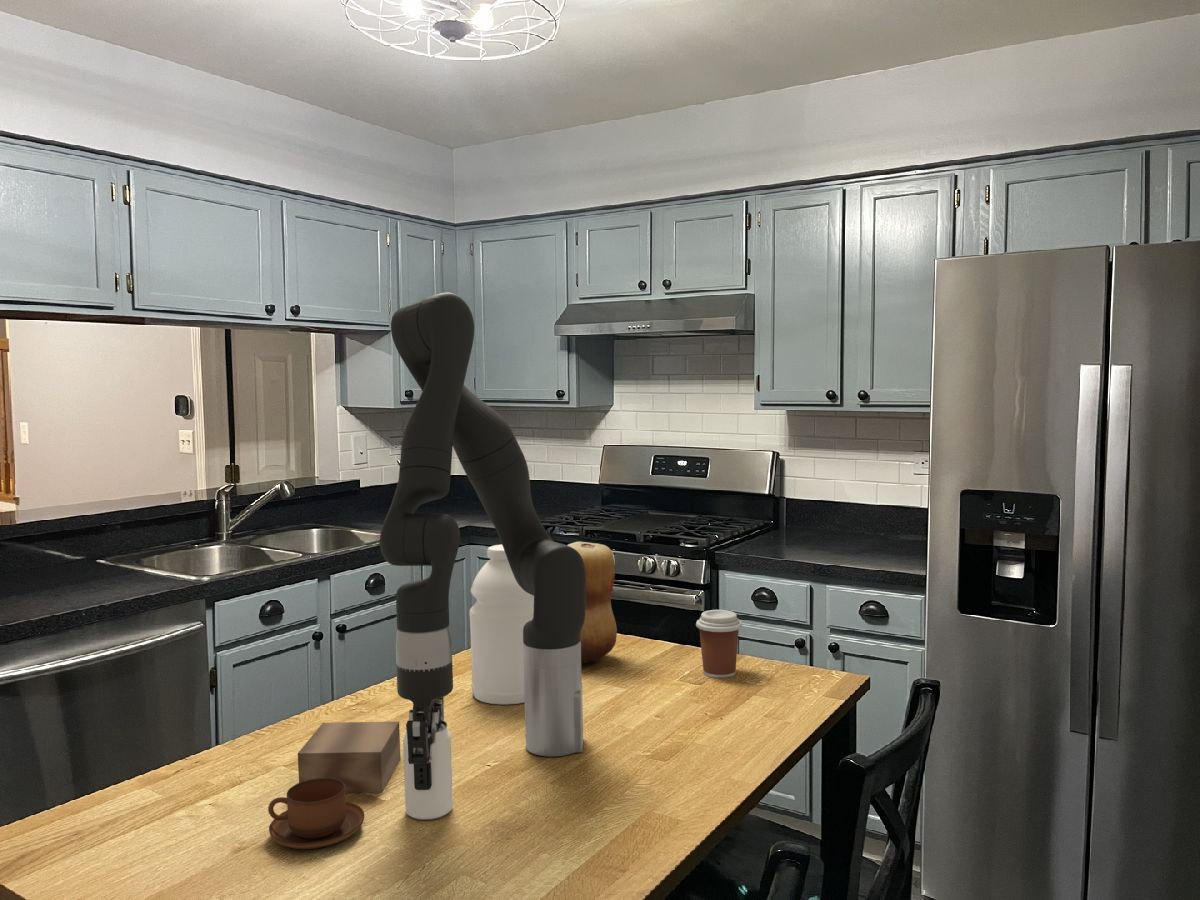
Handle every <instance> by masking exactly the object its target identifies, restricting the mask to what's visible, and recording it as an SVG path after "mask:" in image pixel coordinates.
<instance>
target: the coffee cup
mask: <svg viewBox="0 0 1200 900" xmlns="http://www.w3.org/2000/svg"><path fill="white" fill-rule="evenodd" d="M737 616H738V615H737V613H736V612H735V611H731V610H729V609H727V610H726V609H711V610H705V611H703V612H702V613H701V615H700V617H699V619H697V620H696V623H695V627H696V628H697V629H699V638H700V640H699V641H700V649H701V659H702V661H701V662H702V671H703V672H702V673H703V674H704V676H707V677H708V678H714V679H726V678H732V677H734V676H735V675H736V674H737V673H736V671H737V656H738V643H739V631H740V630H741V629H742V627H743V622H742V621H741V620H740V619H739V618H738V617H737Z"/></svg>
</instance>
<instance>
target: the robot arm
mask: <svg viewBox="0 0 1200 900" xmlns="http://www.w3.org/2000/svg"><path fill="white" fill-rule="evenodd" d="M390 334H391V337H392V341H393V343H394V345H395V348H396V351H397V352H398V354H399V356H400V358H401V359H402V361H403V363H404V365H405V367H406V368H407V370H408V372H409V373H410V375H412V377H413V379H414V380H415V383H417V385H418V387H419V388H420V390H421V391H422V392H421V393H420V397H419V398H418V400H417V402H416V404H415V406H414V409H412V410H413V411H412V413H411V415H410V417H409V419H408V421H407V423H406V427H405V430H404V433H403V436H402V441H401V448H400V459H399V460H400V461H399V472H398V481H397V486H396V489H395V492H394V495H393V498H392V501H391V504H390V507H389V509H388V511H387V515H386V517H385V519H384V521H383V524H382V527H381V531H380V535H379V549H380V552H381V555H382V557H383V558H384V560H385V561H386V562H387V564H390V566H391V565H392V566H396V567H420V566H421V567H422V566H424V567H425V566H426V567H427V566H428V567H429V566H430V567H431V573H430V575H429V576H428V577H426V578H424V579H419V580H415V581H411V582H407V583H404V584H402V585H400V586H399V588H397V590H396V594H395V595H396V596H395V605H396V606H395V607H396V610H395V611H396V612H395V613H396V636H395V637H396V639H395V659H396V660H395V661H396V663H395V667H396V688H397V689H396V690H397V691H396V693H397V694H398V696H399V697H400V698H402V699H403V700H409V701H410V702H412V709H409V711H408V712H409V713H408V720H407V722H406V724H405V728H406V727H407V741H408V761H409V764H414V787H415V789H416V790H429V789H430V788H431V786H432V772H431V760H432V745H433V744H435V743H436V731H437V723H442V720H443V721H445V720H444V719H445V715H444V714H445V710H444V700H445V699H444V698H445V697H446V696H448V695H450V693H452V692H453V689H454V675H453V674H454V673H453V672H454V671H453V670H454V669H453V643H452V641H453V640H452V635H451V629H450V601H449V600H450V599H449V598H450V587H451V580H452V574H453V569H454V566H455V562H456V558H457V555H458V551H459V546H460V542H461V531H460V527H459V525H458V523H457V521H456V520H455V519H454V517H453V516H452V515H450V514H448V513H415V512H416V510H417V509H418V508H419V506H421V505H423V504H425V503H428V502H433V501H436V500H441V499H443V498H444V497H446V496H447V495H448V494H449V492H450V487H451V486H450V485H451V475H452V460H453V450H454V452H455V455H456V457H457V459H458V460H459V462H460V465H461V467H462V469H463V470H464V473H465V474H466V477H467V478H468V480H469V482H470V483H471V486H472V487H473V490H474V491H475V493H476V495H477V497H478V499H479V501H480V502H481V505H482V507H483V508H484V511H485V512H486V514H487V516H488V517H489V520H490V521H491V522H492V524H493V526H494V529H495V531H496V533H497V536H498V537H499V540H500V542H501V544H502V546H503V548H504V551H505V554H506V556H507V559H508V562H509V565H510V567H511V570H512V573H513V575H514V577H515V579H516V581H517V583H518V584H519V586H520V587H521V588H522V589H523V590H524V591H526V592H527V593H529V594H531V595H533V596H534V613H533V619H532V620H531V621H529V622H527V623H526V624H525V625H524V627H523V658H524V698H525V702H524V725H525V727H524V729H525V730H524V732H525V733H524V736H525V749H526V750H527V751H528V752H529V753H531V754H533V755H537V756H539V757H540V756H542V757H564V756H568V755H571V754H575V753H583V749H584V715H583V714H584V707H583V703H584V702H583V699H584V698H583V683H582V682H583V681H582V664H581V630H582V627H583V624H584V621H585V609H586V571H585V565H584V562H583V559H582V557H581V555H580V554H579V553H578V552H577V551H576V550H575V549H574V548H572V547H570V546H567V545H568V544H567V545H566V544H564V543H561V542H557V541H554V540H553V539H552V538H551V536H550V535H549V533H548V532H547V530H546V528H545V527H544V525H543V523H542V521H541V519H540V517H539V516H538V514H537V511H536V509H535V506H534V503H533V500H532V494H531V479H530V472H529V466H528V462H527V460H526V457H525V455H524V452H523V450H522V448H521V447H520V444H519V442H518V440H517V438H516V436H515V434H514V432H513V430H512V428H511V426H510V425H509V423H508V422H507V421H506V420H505V419H504V417H502V416H501V415H500V414H499V413H498V412H497V411H496V410H494V409H493V408H492V407H490V405H488V404H487V403H486V402H485V401H484V400H482V399H481V398H480V397H478V396H477V395H476V394H474V393H473V392H472V391H471V390H470V389H468V387H467V386H466V385H465V381H466V380H465V379H466V375H467V372H468V367H469V362H470V358H471V354H472V350H473V344H474V340H475V339H474V338H475V320H474V316H473V313H472V311H471V308H470V307H469V305H468V304H467V302H466V301H465V300H464V299H463V298H462V297H461V296H459V295H458V294H456V293H454V292H453V293H452V292H448V291H447V292H441V293H437V294H432V295H430V296H427V297H426V298H423V299H420V300H418V301H415V302H412V303H409V304H407V305H405V306H402V307H400V308H398V309H397V310H396V311H394V313H393V315H392V317H391V321H390ZM428 733H431V736H430V737H429V738H428ZM417 748H422V749H423V754H417Z"/></svg>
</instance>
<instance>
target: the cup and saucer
mask: <svg viewBox="0 0 1200 900" xmlns="http://www.w3.org/2000/svg"><path fill="white" fill-rule="evenodd" d="M279 803H281V804H285V805H287V806H286V807H287V809H286V810H285V811H283V812H282V813H280V814H277V813H276V812H275V811H274V807H275V806H276V805H277V804H279ZM267 808H268V809H267V810H268V814H269V815H270V817H271V818H272V819H273V820H272V821H271V822H270V825H269V826H268V832H269V835H270V837H271V839H272V840H274V841H275V842H276V843H278V844H279V845H281V846H283V847H286V848H290V849H297V850H310V849H311V850H312V849H314V850H315V849H318V848H325V847H329V846H331V845H335V844H338V843H340V842H343V841H345V840H346V839H348V838H349V837H351V836H352V835H354V834H355V833H356V832H357V831H358V830H359V829H360V828H361V827H362V825H363V824H364V819H365V812H364V810H363V809H362V807H360V806H359V805H357V804H356V803H352V802H348V801H346V793H345V784H344V783H343V782H342V781H340V780H338V779H333V778H316V779H310V780H306V781H303V782H300V783H299V782H298V783H296V784H294V785H293V786H291V787H289V789H288V790H287V791H286V797H284V796H283V797H282V796H281V797H280V796H279V797H276V798H274V799H272V800H271V801H270V802H269V804H268V807H267Z"/></svg>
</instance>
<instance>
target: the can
mask: <svg viewBox="0 0 1200 900" xmlns="http://www.w3.org/2000/svg"><path fill="white" fill-rule="evenodd" d="M405 730H406V731H405V733H404V736H403V740H402V750H403V752H402V753H403V778H404V779H403V780H404V781H403V782H404V802H405V803H404V805H405V813H406V814H407V815H408V817H410V818H411V819H414V820H418V821H433V820H438V819H441V818H443V817H445V816H447V815H448V814H449V813H450V812H451V811H452V809H453V807H454V805H453V804H454V800H453V797H454V796H453V795H454V794H453V791H454V790H453V764H452V762H453V761H452V760H453V759H452V757H453V756H452V735H451V733H450V731H449V729H448V722H446V720H444V721H443V720H442V723H437V731H436V743H435V744H433V745H432V760H431V772H432V786H431V788H430V789H429V790H416V789H415V787H414V764H409V761H408V741H407V727H406V726H405ZM430 736H431V733H428V738H429V737H430ZM417 754H423V749H422V748H417Z"/></svg>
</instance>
